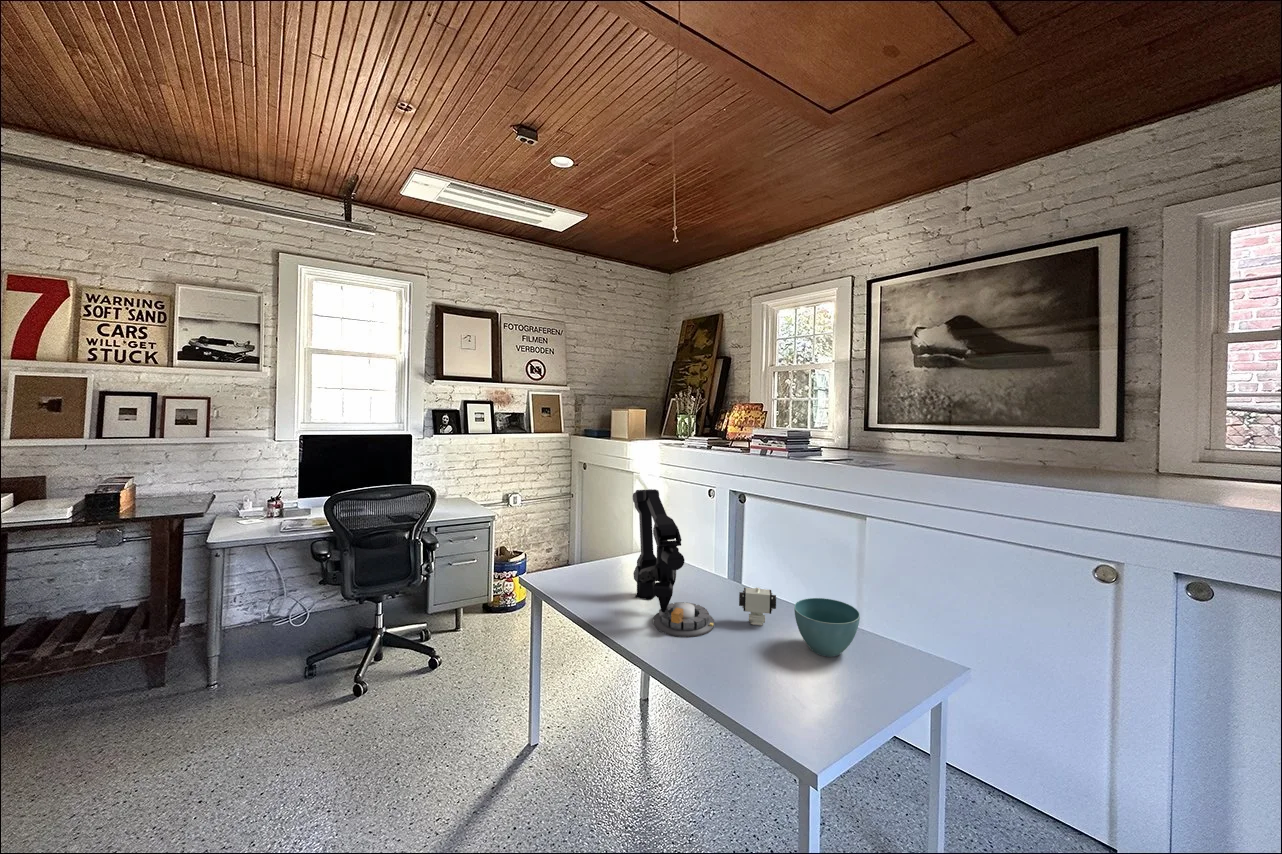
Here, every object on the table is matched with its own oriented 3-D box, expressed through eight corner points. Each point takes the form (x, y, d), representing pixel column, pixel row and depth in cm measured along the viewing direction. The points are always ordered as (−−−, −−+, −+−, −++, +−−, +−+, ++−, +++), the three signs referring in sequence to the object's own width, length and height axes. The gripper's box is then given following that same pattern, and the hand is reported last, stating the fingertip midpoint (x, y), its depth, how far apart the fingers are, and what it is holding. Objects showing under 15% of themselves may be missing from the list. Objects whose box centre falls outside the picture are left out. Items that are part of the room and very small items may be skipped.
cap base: (643, 630, 168) (644, 613, 168) (665, 606, 187) (665, 591, 186) (704, 642, 160) (704, 624, 160) (721, 616, 179) (721, 600, 178)
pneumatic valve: (775, 628, 170) (776, 592, 169) (738, 624, 173) (739, 589, 172) (774, 621, 176) (775, 585, 175) (738, 617, 178) (739, 583, 177)
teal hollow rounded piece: (816, 669, 145) (817, 626, 144) (781, 639, 163) (782, 600, 162) (872, 661, 150) (873, 619, 149) (832, 632, 168) (834, 595, 167)
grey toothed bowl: (651, 625, 169) (651, 609, 168) (669, 606, 184) (669, 591, 184) (699, 635, 162) (699, 617, 162) (713, 614, 178) (714, 598, 177)
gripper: (644, 550, 184) (644, 594, 186) (636, 568, 166) (636, 616, 167) (676, 552, 183) (676, 596, 184) (672, 570, 164) (671, 619, 166)
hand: (664, 606), depth 175 cm, fingers open, 9 cm apart
